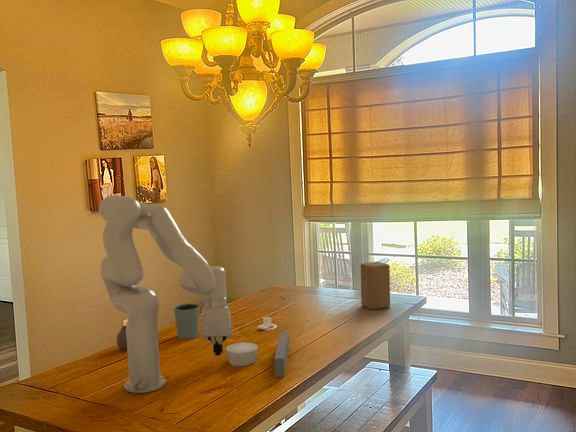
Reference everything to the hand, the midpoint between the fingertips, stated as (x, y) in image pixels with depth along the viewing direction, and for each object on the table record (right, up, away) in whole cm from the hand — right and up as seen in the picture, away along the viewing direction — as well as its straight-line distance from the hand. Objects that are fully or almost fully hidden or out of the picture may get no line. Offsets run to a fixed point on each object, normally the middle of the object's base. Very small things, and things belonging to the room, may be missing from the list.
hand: (218, 354), depth 200 cm
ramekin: (+8, -3, 0) cm, 9 cm away
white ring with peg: (+13, +1, +39) cm, 41 cm away
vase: (-37, -2, +17) cm, 41 cm away
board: (+22, -2, -1) cm, 22 cm away
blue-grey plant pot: (-16, 0, +31) cm, 35 cm away
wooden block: (+64, +6, +65) cm, 92 cm away
